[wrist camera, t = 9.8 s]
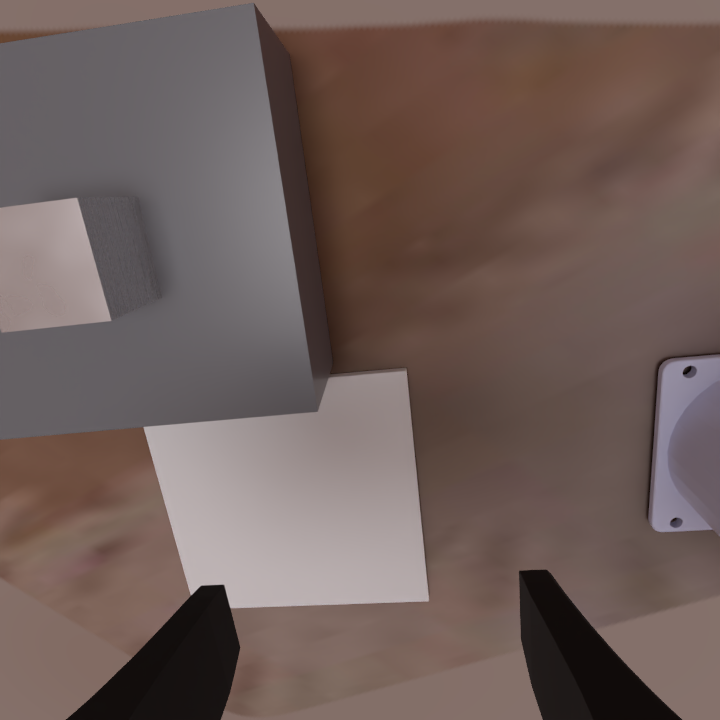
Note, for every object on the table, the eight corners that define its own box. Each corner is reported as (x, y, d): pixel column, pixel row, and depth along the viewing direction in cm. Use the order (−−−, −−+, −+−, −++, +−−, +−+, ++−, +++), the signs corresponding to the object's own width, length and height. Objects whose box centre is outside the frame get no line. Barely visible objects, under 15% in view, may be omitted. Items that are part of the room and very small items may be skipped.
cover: (289, 54, 18) (215, -52, 10) (333, 363, 21) (303, 457, 14) (-15, 99, 19) (-291, 35, 11) (76, 387, 22) (-85, 488, 15)
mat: (406, 367, 21) (406, 370, 21) (428, 594, 25) (429, 601, 24) (138, 390, 22) (134, 394, 22) (197, 603, 26) (194, 609, 26)
